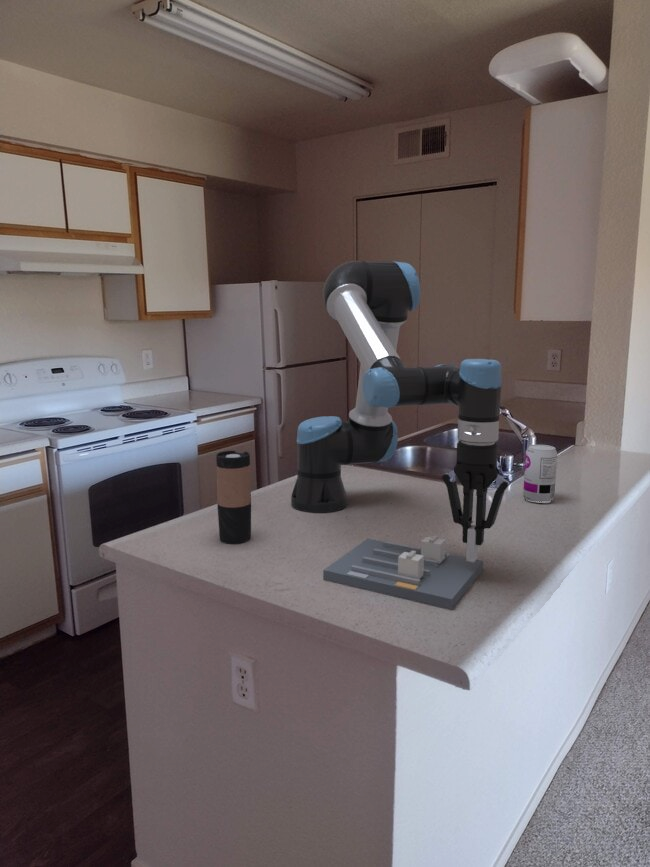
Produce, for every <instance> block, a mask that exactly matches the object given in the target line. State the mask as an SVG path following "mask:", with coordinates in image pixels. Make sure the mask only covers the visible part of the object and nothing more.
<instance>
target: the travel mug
mask: <svg viewBox="0 0 650 867" xmlns="http://www.w3.org/2000/svg"><path fill="white" fill-rule="evenodd" d="M215 458H216V459H215V460H216V497H217V498H216V500H217V502H216V503H217V504H216V505H217V518H218V530H219V531H218V533H219V541H220V542H221V543H224V544H230V545H237V544H238V545H239V544H244V543H247V542H249V541H250V540H251V536H252V535H251V534H252V490H251V489H252V488H251V487H252V486H251V484H252V483H251V480H252V479H251V460H250V459H251V454H250V453H249V452H248V451H244V452H241V453H240V452H237V451H236V450H224V451H220V452H218V453H216V457H215Z"/></svg>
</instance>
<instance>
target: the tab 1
mask: <svg viewBox="0 0 650 867" xmlns="http://www.w3.org/2000/svg"><path fill="white" fill-rule="evenodd" d="M423 571H424V556H423V555H418V554H416V551H413V550H412V551H411V552H410V553H408V552H403V553H402V554H401V555H400V556H399V557H398V575H401V576H406V577H410V578H415V579H420V578H421V577H422V576H423Z"/></svg>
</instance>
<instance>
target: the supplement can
mask: <svg viewBox="0 0 650 867" xmlns="http://www.w3.org/2000/svg"><path fill="white" fill-rule="evenodd" d="M524 460H525V461H524V476H523V491H522V497H523V499H527V500H530V501H539V502H540V501H541V502H542V501H550V500H553V499H554V500H555V491H556V480H557V479H556V478H557V464H558V451H557V449H556V447H555V446H552V445H548V444H530V445H528V447H527V449H526V451H525V459H524ZM554 500H553V501H554Z"/></svg>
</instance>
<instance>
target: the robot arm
mask: <svg viewBox="0 0 650 867" xmlns="http://www.w3.org/2000/svg"><path fill="white" fill-rule="evenodd" d="M322 300H323V305H324V307H325V310H327V313H328V316H330V317H331V318H333V319H334V320H335V321H337V322H338V324H339V326H340V328H341V330H342V332H343V333H344V336H345V337H346V339H347V340H348V342H349V344H350V346H351V348H352V350H353V352H354V354H355V356H356V357H357V359H358V361H359V363H360V368H359V376H358V386H357V390H356V391H357V392H356V401H355V407H354V408H353V409H351V410H350V411H349V413H348V420H347V421H342V419H341V418H340V417H339V416H333V415H330V416H324V415H323V416H317V417H312V418H309V419H306V420H303V421H302V422H300V423H299V425H298V427H297V435H296V444H297V445H296V447H297V449H296V452H297V453H296V454H297V459H296V460H297V468H296V469H297V478H296V480H295V483H294V487H293V489H292V493H291V498H290V501H291V502H290V505H291V507H292V508H294V509H296V510H299V511H301V512H302V511H303V512H309V513H330V512H336V511H340V510H343V509H345V507H347V506H348V494H347V492H346V491H347V490H346V489H345V486H344V482H343V479H342V471H341V470H342V466H346V465H359V464H368V463H369V464H370V463H371V464H377V463H381V462H387V461H388V460H390V459H391V458H392V457H393V456H394V454H395V452H396V450H397V446H398V440H399V436H398V427H397V424H396V423H395V421H394V420H393V417H392V415H391V414H390V413H389V412H388V410H389V408H394V407H395V408H396V407H410V406H426V405H427V406H428V405H429V406H430V405H446V404H447V405H448V404H449V405H455V406H458V416H457V418H458V419H457V438H458V440H459V441H458V442H457V444H456V463H455V465H454V467H453V470H451V471H447V472H445V473H444V474H443V475H442V477H441V479H442V481H443V482H444V485H445V486H446V490H447V494H448V500H449V503H450V508H451V509H450V510H451V514H452V520H453V522H454V524H459V525H460V526H461V527H462V537H461V538H462V540H461V541H462V543H463V544H466V556H465V557H466V561H469V562H475V560H476V559H477V560H478V558H479V546H482V545H483V543H484V541H485V529H491V528H492V527H493V525H495V522H496V520H497V516H498V514H499V513H498V512H499V511H500V506H501V503H502V500H503V497H504V493H505V492H506V490H507V489H508V487H509V486H511V480H510V479H505V478H504V477H503V476H501V475H500V471H499V468H498V453H499V452H498V449H499V448H498V447H499V445H498V444H497V441H499V435H500V434H499V432H500V431H499V430H500V429H499V428H500V411H501V399H502V398H501V397H502V396H501V395H502V386H503V385H502V384H503V379H502V364H501V363H500V362H499V360H497V359H486V358H466V359H464V360H462V361H461V363H460V366H457V365H454V364H438V365H434V366H412V367H411V366H410V367H409V366H408V367H407V366H406V365H405V364H404V362H403V360H402V359H401V357H400V356H399V354H398V352H397V347H398V341H399V334H400V328H401V326H402V325H403V324H405V323H406V322H407V320H408V315H409V312H413V311H414V310H416V309H417V308H418V306H419V304H420V302H421V301H420V300H421V283H420V279H419V276H418V274H417V270H416V269H415V267H414V266H412V265H411V264H410V263H408V262H403V261H402V262H401V261H395V260H391V261H390V260H389V261H388V260H387V261H386V260H384V261H383V260H379V261H378V260H371V261H370V260H369V261H368V260H365V261H363V260H351V261H346V262H344V263H342V264H340V265H338V266H336V268H334V269H333V270H332V271H331V272H330V273H329V275H328V277H327V278H326V280H325V281H324V285H323V289H322ZM457 479H458V480H459V482H460V484H461V485H462V493H463V494H462V495H463V503H461V499H460V494H459V489H458V484H457V481H458V480H457ZM494 482H495V488H496V490H495V492H494V494H493V497H492V502H491V503H490V508H489V510H488V513H487V512H486V511H487V494H488V488H490V486H491V485H492V484H493V483H494ZM474 491H475V495H476V507H475V524H474V525H473V523H474V520H473V512H474V511H473V510H474V508H473V507H474ZM486 513H487V514H486ZM486 515H487V517H486Z"/></svg>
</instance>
